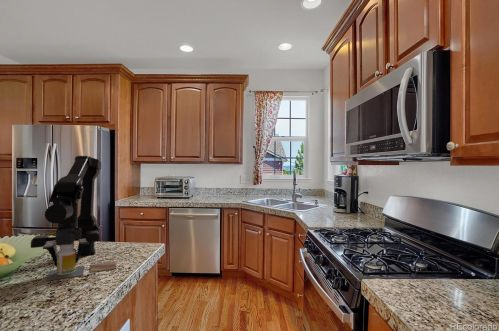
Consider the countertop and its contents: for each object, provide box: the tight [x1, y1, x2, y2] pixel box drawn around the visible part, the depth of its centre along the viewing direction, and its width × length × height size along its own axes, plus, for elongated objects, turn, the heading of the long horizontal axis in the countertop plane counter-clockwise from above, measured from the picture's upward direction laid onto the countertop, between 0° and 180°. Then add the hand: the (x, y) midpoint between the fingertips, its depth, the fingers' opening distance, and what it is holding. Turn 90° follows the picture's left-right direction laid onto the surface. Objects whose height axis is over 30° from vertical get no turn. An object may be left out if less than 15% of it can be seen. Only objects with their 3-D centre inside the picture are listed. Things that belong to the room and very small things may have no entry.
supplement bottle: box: [56, 242, 77, 275], centre depth 92 cm, size 5×5×10 cm
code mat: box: [45, 265, 85, 282], centre depth 91 cm, size 10×10×1 cm
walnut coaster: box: [89, 261, 117, 273], centre depth 98 cm, size 8×8×1 cm
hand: (66, 264), depth 91 cm, fingers closed on supplement bottle, 5 cm apart
